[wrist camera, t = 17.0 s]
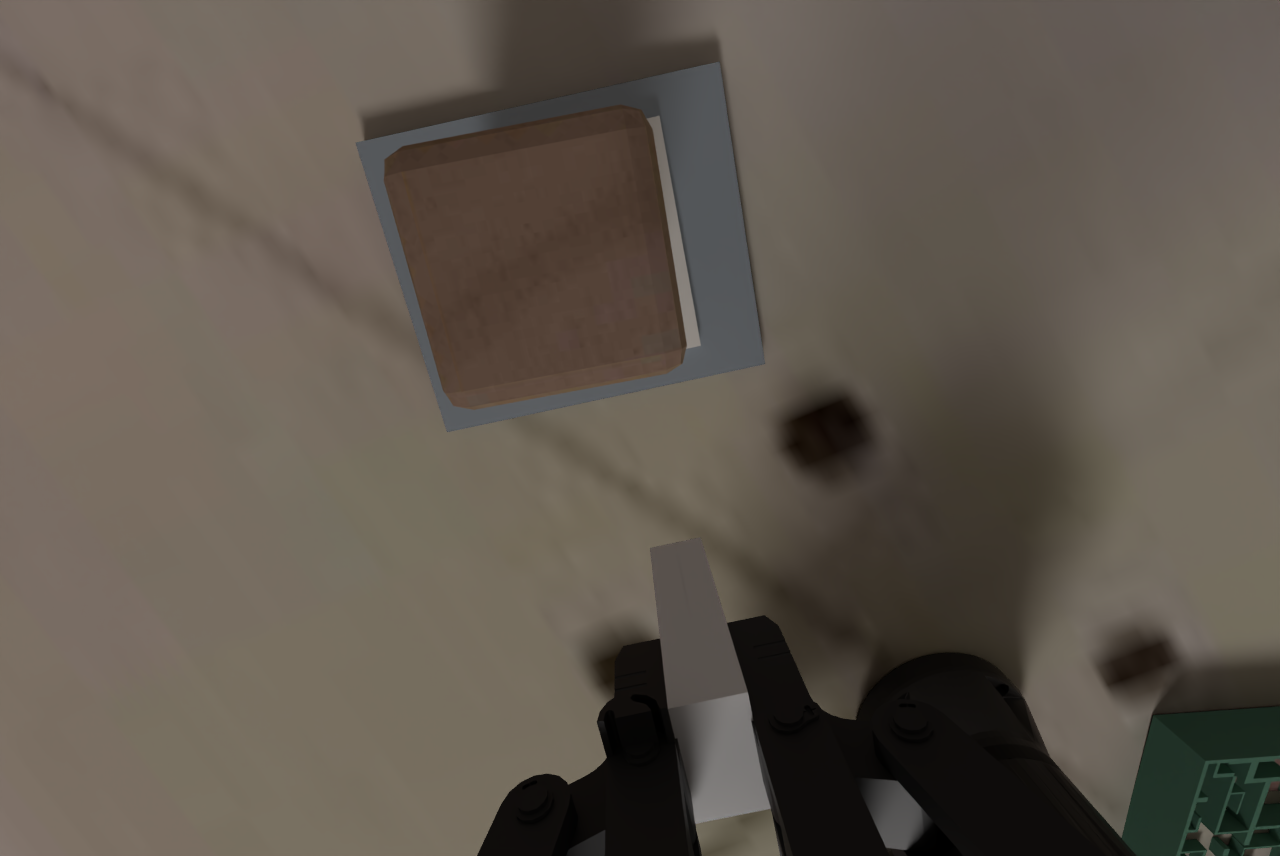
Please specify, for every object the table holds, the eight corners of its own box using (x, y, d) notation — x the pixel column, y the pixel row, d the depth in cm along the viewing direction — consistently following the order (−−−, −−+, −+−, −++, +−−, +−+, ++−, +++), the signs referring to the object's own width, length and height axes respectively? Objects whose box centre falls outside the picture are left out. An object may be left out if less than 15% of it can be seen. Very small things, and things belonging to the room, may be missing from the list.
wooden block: (484, 198, 40) (363, 146, 21) (631, 170, 40) (649, 92, 20) (519, 345, 43) (443, 421, 23) (657, 319, 42) (694, 373, 23)
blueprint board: (715, 68, 40) (722, 56, 37) (760, 360, 45) (768, 366, 43) (364, 146, 40) (348, 139, 38) (452, 426, 46) (443, 436, 43)
